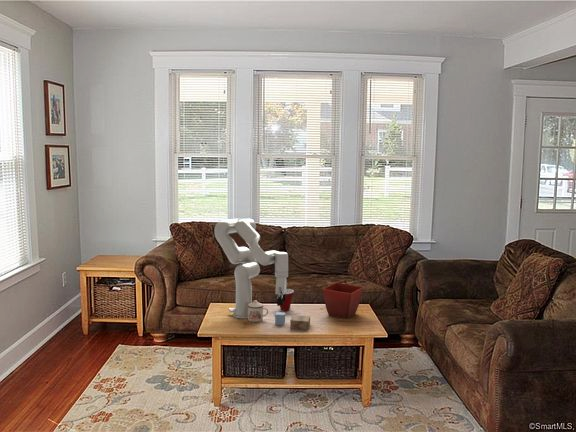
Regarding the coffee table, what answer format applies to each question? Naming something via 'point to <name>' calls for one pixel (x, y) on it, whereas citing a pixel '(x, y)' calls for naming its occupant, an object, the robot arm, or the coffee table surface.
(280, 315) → the slate block
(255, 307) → the teacup with lid
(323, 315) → the coffee table surface
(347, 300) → the plant pot
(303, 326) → the walnut plinth
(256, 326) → the coffee table surface
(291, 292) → the plastic cup
